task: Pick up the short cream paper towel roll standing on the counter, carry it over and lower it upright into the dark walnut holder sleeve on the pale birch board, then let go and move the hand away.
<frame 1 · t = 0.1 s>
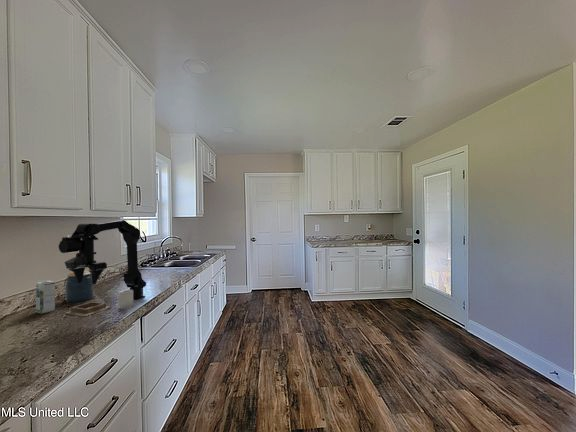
hand: (86, 283, 130), 15 cm above the countertop, tool pointing down, fingers open, 9 cm apart
holder: (88, 310, 136), on the countertop
syrup box: (45, 311, 135), on the countertop
towel roll: (126, 307, 141), on the countertop
canister: (79, 299, 156), on the countertop
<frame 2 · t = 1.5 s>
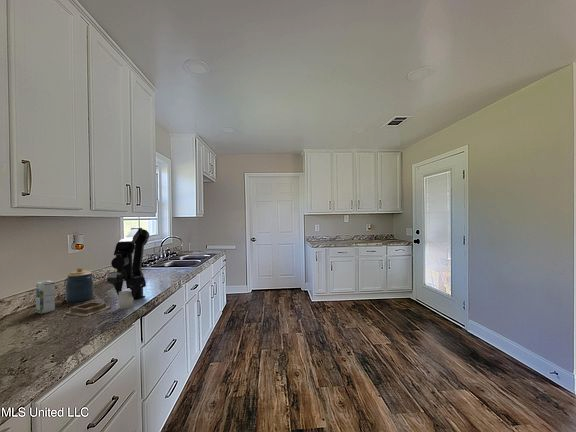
hand: (126, 296, 141), 6 cm above the countertop, tool pointing down, fingers open, 9 cm apart
nothing on the countertop moved.
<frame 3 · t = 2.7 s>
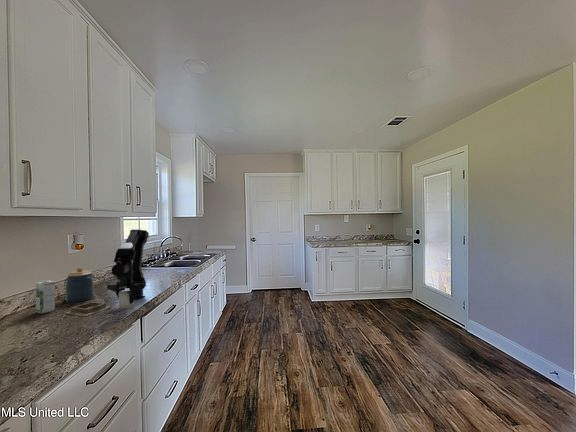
hand: (126, 303, 141), 2 cm above the countertop, tool pointing down, fingers closed on towel roll, 6 cm apart
towel roll: (126, 307, 141), on the countertop, touching gripper
everything else where it was.
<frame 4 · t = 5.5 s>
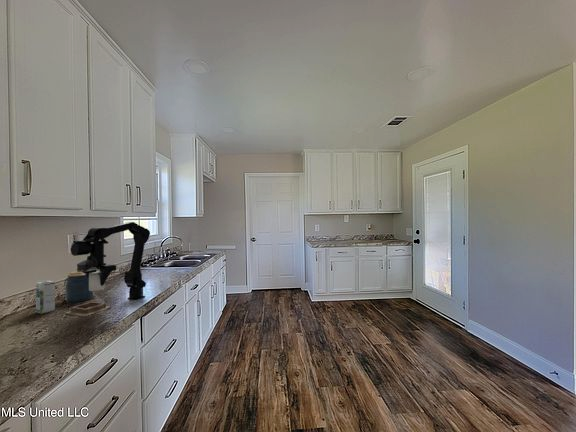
hand: (96, 285, 136), 12 cm above the countertop, tool pointing down, fingers closed on towel roll, 6 cm apart
towel roll: (96, 289, 136), point 10 cm above the countertop, touching gripper
everything else where it was.
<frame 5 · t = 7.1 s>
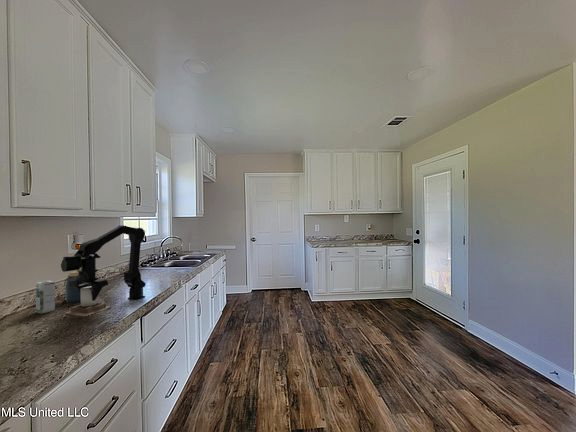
hand: (88, 300, 136), 5 cm above the countertop, tool pointing down, fingers closed on towel roll, 6 cm apart
towel roll: (88, 304, 136), point 3 cm above the countertop, touching gripper
everything else where it was.
when the fingers open (4 cm above the countertop, at t = 8.2 s): towel roll drops 2 cm, resting on holder.
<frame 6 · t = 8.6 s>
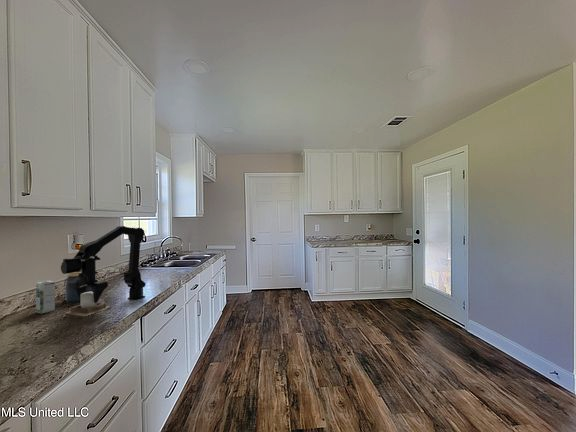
hand: (88, 302, 136), 4 cm above the countertop, tool pointing down, fingers open, 9 cm apart
towel roll: (88, 309, 136), point 1 cm above the countertop, touching holder
everything else where it was.
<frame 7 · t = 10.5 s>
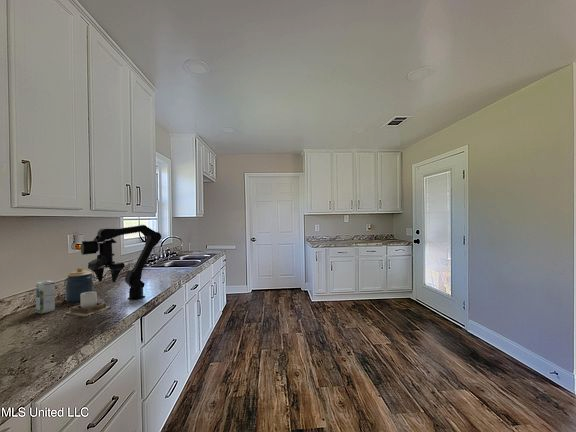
hand: (107, 282, 146), 12 cm above the countertop, tool pointing down, fingers open, 9 cm apart
nothing on the countertop moved.
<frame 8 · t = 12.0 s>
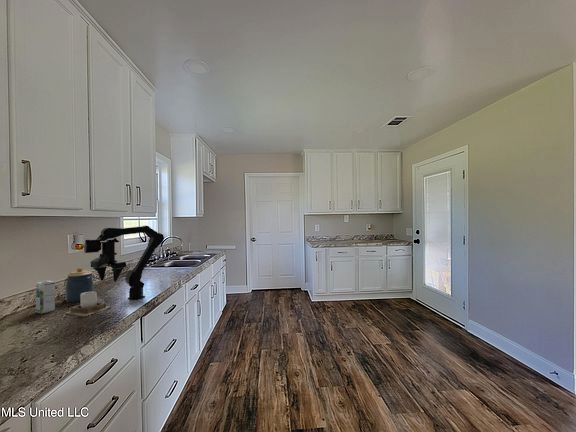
hand: (108, 280, 147), 12 cm above the countertop, tool pointing down, fingers open, 9 cm apart
nothing on the countertop moved.
at the end: towel roll 0.0 cm off-centre on the holder, point 0.6 cm above the holder's base; towel roll tilted 0°; the gripper is holding nothing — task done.
